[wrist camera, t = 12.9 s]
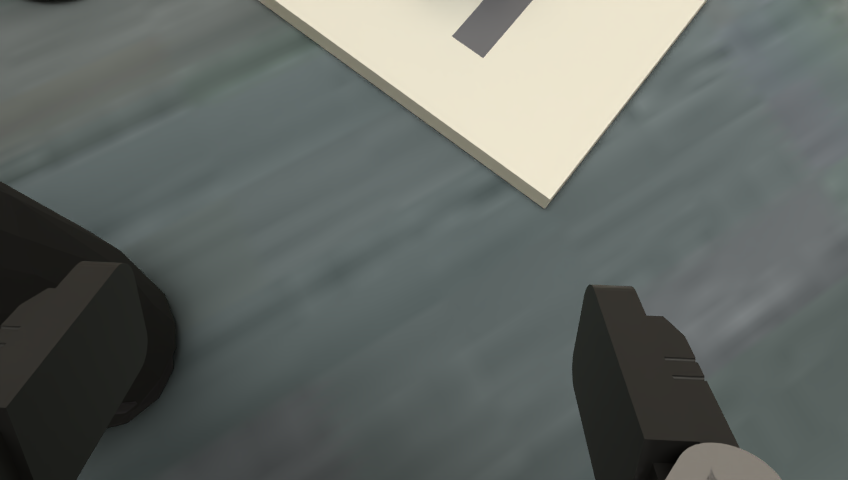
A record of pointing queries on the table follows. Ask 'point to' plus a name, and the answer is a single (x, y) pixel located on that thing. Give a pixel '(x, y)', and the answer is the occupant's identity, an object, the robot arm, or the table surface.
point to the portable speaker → (53, 260)
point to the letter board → (503, 69)
